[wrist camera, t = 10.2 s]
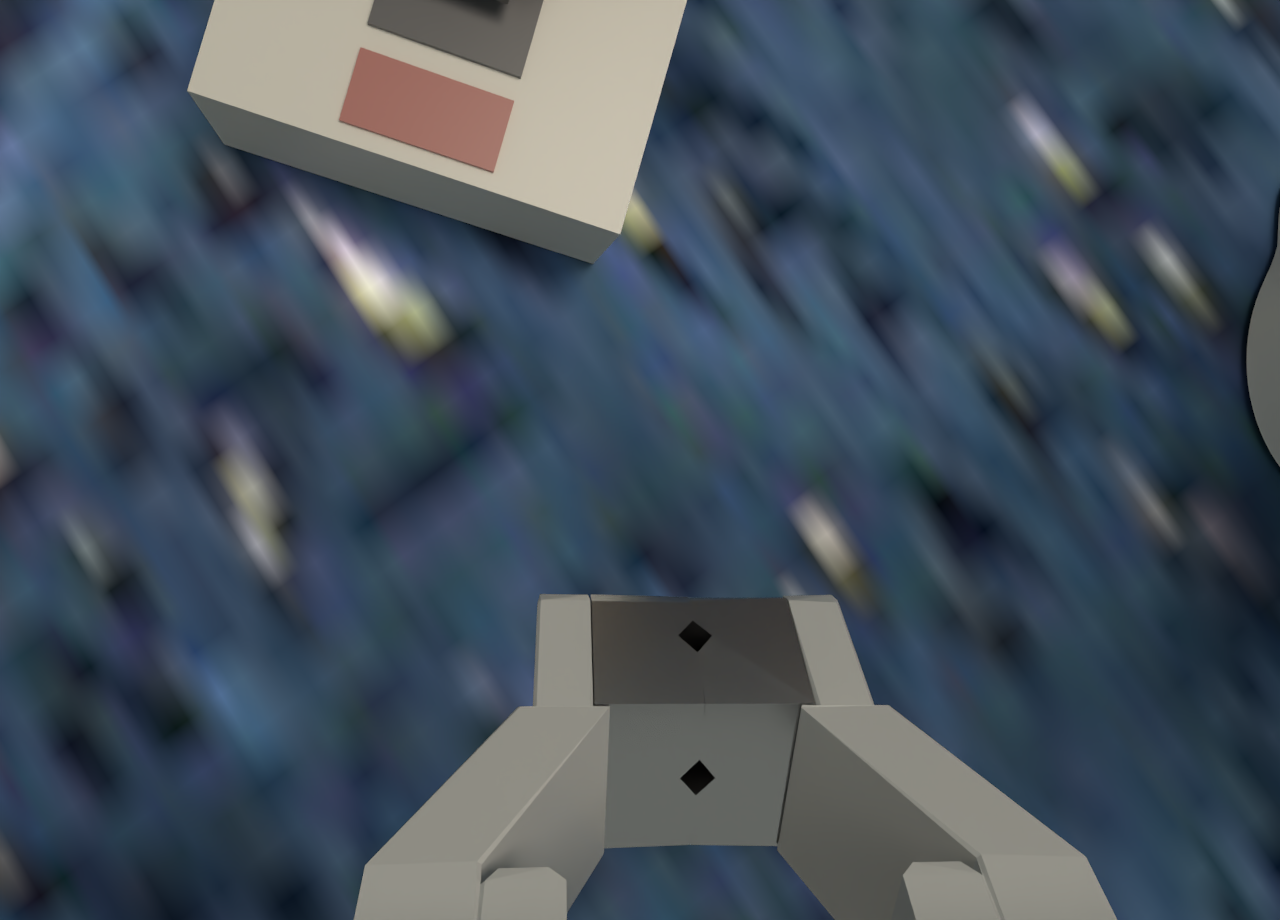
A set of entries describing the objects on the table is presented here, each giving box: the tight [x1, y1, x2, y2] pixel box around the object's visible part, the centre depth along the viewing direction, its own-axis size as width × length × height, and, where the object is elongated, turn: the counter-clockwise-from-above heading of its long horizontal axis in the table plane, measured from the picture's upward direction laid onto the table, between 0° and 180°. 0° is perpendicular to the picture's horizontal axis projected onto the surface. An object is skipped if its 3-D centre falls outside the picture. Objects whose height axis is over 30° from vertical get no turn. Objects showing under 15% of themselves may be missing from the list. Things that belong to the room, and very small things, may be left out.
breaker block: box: [187, 0, 687, 264], centre depth 37 cm, size 12×14×6 cm
